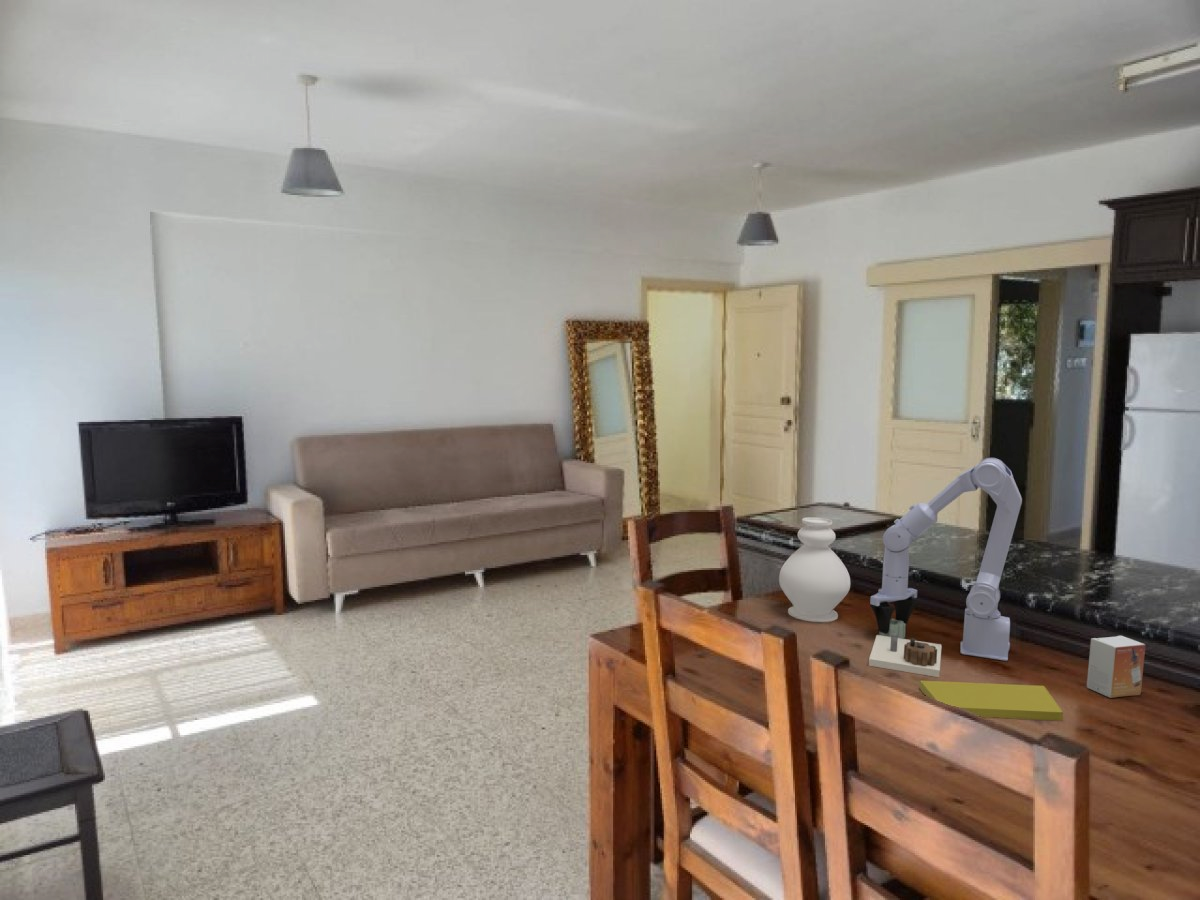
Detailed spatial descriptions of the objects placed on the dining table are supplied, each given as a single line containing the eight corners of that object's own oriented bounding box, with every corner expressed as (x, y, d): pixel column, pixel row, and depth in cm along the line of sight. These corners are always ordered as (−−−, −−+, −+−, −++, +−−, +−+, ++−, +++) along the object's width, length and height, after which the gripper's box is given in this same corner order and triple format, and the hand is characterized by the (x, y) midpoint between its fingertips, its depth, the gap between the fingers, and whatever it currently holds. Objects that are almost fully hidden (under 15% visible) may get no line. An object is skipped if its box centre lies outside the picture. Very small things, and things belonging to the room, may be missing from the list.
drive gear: (936, 657, 169) (938, 637, 168) (935, 668, 163) (937, 647, 162) (904, 652, 171) (905, 633, 171) (902, 662, 165) (904, 642, 165)
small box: (1110, 699, 152) (1114, 647, 151) (1085, 687, 158) (1089, 637, 157) (1141, 695, 155) (1146, 644, 153) (1116, 684, 160) (1121, 634, 159)
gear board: (941, 650, 177) (942, 627, 177) (939, 677, 162) (940, 651, 161) (876, 641, 183) (877, 618, 182) (868, 665, 168) (870, 641, 167)
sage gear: (905, 634, 188) (906, 620, 188) (903, 641, 183) (904, 627, 183) (880, 630, 191) (881, 616, 190) (878, 637, 185) (878, 623, 185)
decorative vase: (765, 606, 208) (768, 515, 205) (822, 601, 213) (827, 512, 211) (801, 628, 191) (805, 528, 189) (863, 622, 197) (868, 525, 194)
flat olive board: (941, 718, 144) (1075, 724, 142) (942, 706, 144) (1076, 712, 142) (919, 690, 156) (1043, 696, 155) (920, 680, 156) (1044, 685, 154)
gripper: (901, 567, 192) (898, 620, 194) (861, 574, 185) (858, 630, 186) (926, 574, 186) (922, 629, 188) (885, 582, 179) (882, 639, 180)
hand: (892, 630), depth 187 cm, fingers closed on sage gear, 6 cm apart
